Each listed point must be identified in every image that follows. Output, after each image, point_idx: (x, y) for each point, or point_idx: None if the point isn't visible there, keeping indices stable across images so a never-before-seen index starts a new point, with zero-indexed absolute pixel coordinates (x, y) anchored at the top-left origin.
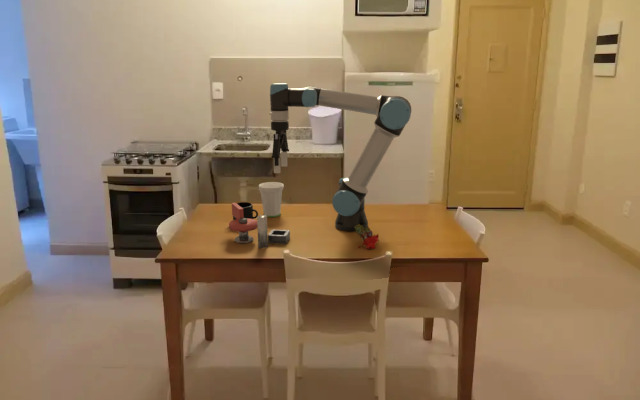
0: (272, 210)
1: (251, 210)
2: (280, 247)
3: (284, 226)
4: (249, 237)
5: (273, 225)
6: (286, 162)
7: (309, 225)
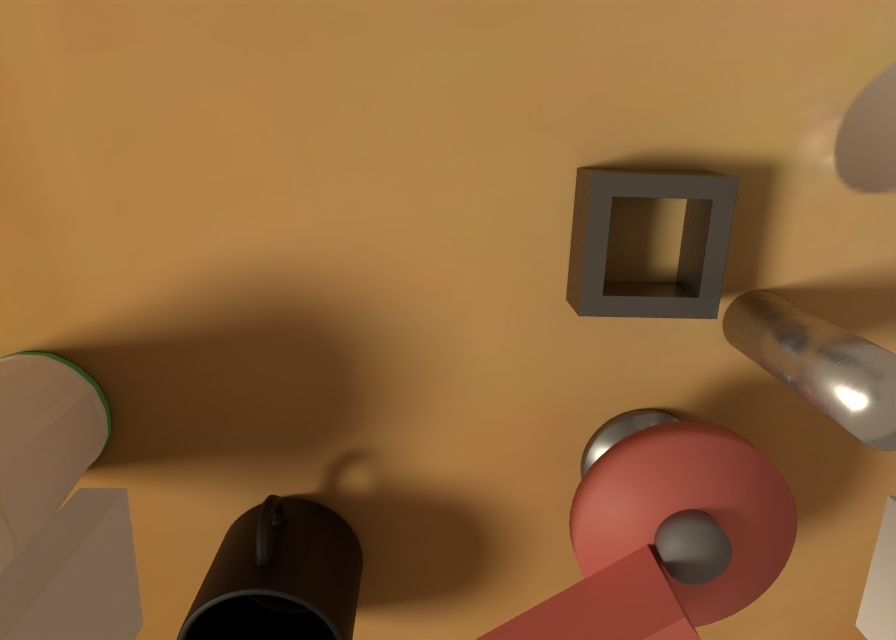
0: (80, 420)
1: (286, 563)
2: (776, 199)
3: (316, 260)
4: None
5: (306, 347)
6: (73, 576)
7: (252, 53)
